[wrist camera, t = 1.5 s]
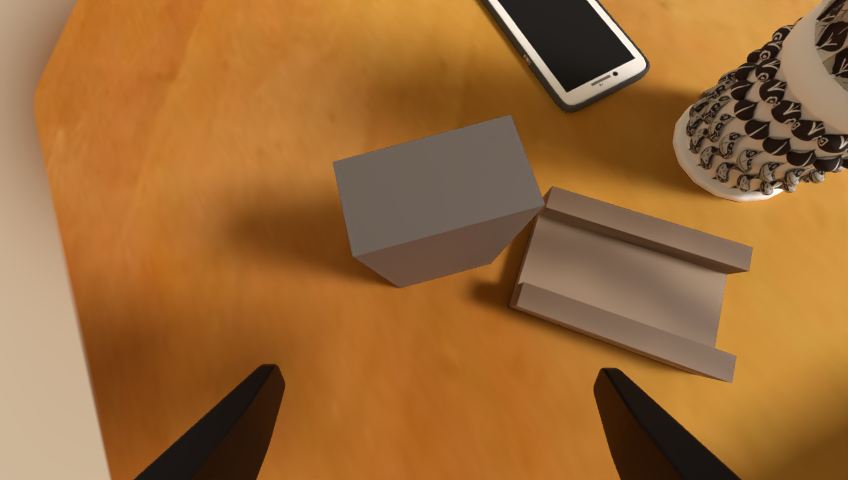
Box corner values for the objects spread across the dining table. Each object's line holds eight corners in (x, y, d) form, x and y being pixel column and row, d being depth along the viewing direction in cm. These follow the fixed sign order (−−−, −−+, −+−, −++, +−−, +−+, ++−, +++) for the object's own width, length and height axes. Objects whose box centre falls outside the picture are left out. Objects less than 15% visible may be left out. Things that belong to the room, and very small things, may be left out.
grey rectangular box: (490, 263, 22) (545, 204, 10) (399, 288, 22) (352, 256, 10) (475, 215, 23) (509, 110, 11) (387, 238, 23) (331, 158, 11)
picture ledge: (696, 374, 20) (732, 383, 17) (508, 306, 21) (516, 305, 19) (717, 255, 21) (752, 247, 19) (540, 199, 23) (552, 186, 20)
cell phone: (546, -45, 29) (550, -58, 28) (648, 77, 25) (656, 67, 24) (470, -10, 28) (471, -21, 27) (563, 119, 25) (568, 112, 24)
